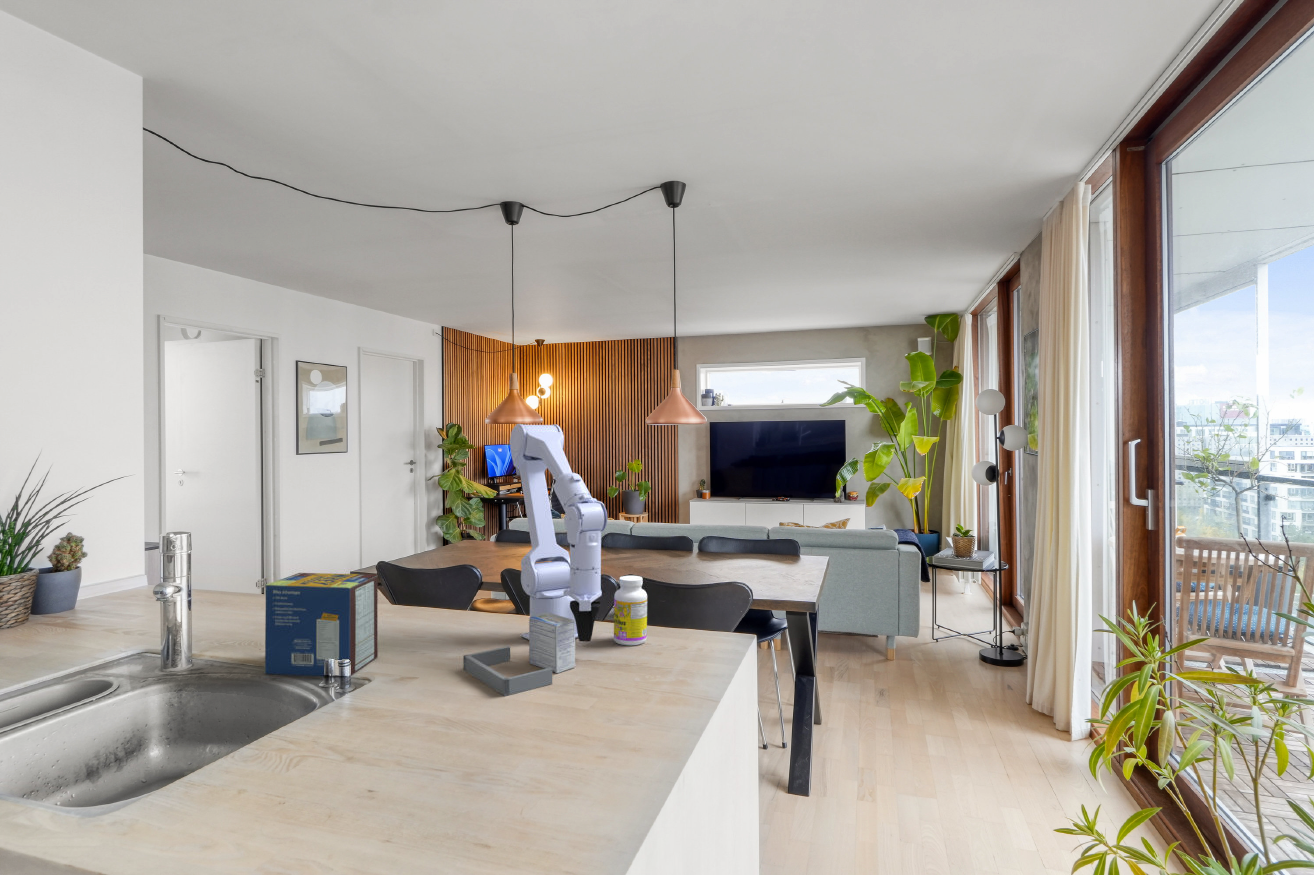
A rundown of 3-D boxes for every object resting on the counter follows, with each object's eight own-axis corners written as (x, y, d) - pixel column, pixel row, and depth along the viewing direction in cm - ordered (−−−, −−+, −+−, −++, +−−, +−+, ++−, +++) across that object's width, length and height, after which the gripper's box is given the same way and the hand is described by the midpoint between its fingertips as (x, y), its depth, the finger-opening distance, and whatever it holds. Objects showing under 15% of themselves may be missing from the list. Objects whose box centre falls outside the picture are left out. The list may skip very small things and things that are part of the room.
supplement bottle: (608, 639, 141) (609, 575, 141) (637, 634, 144) (638, 573, 144) (622, 648, 135) (622, 582, 135) (652, 643, 138) (653, 579, 138)
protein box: (298, 655, 129) (298, 572, 129) (378, 657, 128) (379, 573, 128) (262, 674, 118) (263, 584, 118) (350, 677, 118) (350, 586, 117)
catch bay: (508, 659, 127) (508, 646, 127) (552, 683, 115) (552, 668, 115) (463, 669, 122) (463, 655, 122) (504, 696, 110) (504, 680, 110)
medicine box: (575, 668, 123) (576, 619, 123) (556, 674, 120) (556, 624, 120) (547, 658, 129) (547, 611, 129) (528, 664, 125) (528, 616, 125)
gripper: (564, 560, 135) (564, 629, 136) (562, 575, 121) (561, 652, 121) (601, 560, 136) (600, 629, 136) (602, 574, 122) (602, 651, 122)
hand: (584, 640), depth 129 cm, fingers closed
